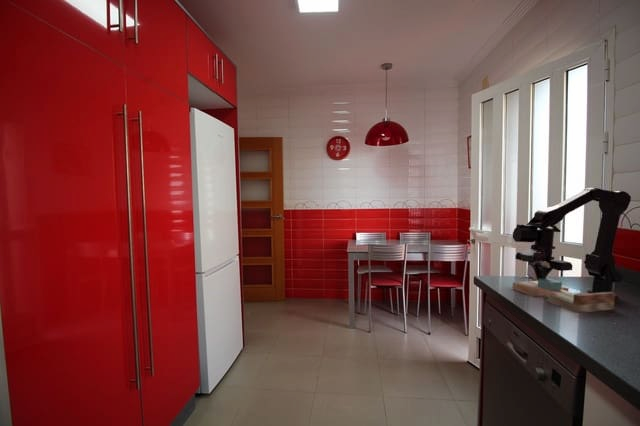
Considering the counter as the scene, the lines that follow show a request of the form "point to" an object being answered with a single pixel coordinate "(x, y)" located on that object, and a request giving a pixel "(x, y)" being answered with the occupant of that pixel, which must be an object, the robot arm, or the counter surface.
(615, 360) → the counter surface
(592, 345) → the counter surface
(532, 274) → the medicine box
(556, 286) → the teal block
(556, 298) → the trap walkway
